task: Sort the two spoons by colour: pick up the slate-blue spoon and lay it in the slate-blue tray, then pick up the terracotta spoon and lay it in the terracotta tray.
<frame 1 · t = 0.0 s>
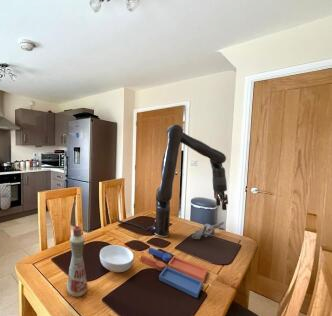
hand: (221, 207, 127), 22 cm above the table, tool pointing down, fingers open, 8 cm apart
terracotta spoon: (152, 264, 101), on the table
terracotta tray: (187, 269, 98), on the table
spaceship: (208, 235, 136), on the table
cereal bowl: (116, 267, 99), on the table
blue tray: (179, 282, 89), on the table
bottle: (76, 290, 83), on the table
blue spoon: (159, 256, 109), on the table
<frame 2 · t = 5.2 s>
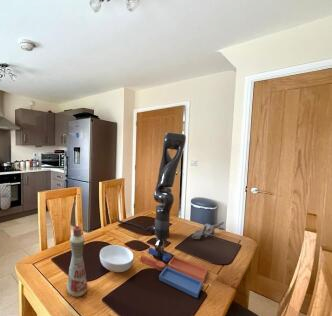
hand: (160, 256, 109), 0 cm above the table, tool pointing down, fingers closed on blue spoon, 2 cm apart
blue spoon: (159, 256, 109), on the table, touching gripper
everything else where it was.
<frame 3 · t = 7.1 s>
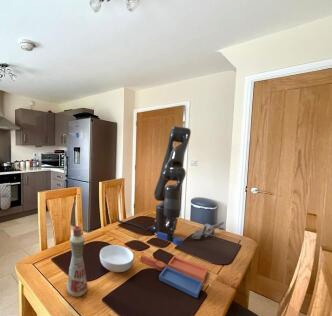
hand: (170, 239, 98), 15 cm above the table, tool pointing down, fingers closed on blue spoon
blue spoon: (169, 240, 99), point 14 cm above the table, touching gripper
everything else where it was.
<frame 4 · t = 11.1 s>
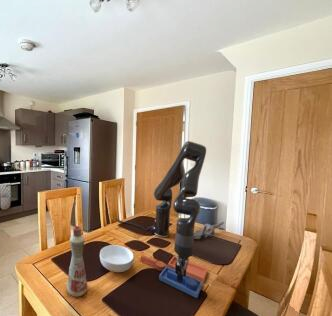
hand: (181, 278, 88), 2 cm above the table, tool pointing down, fingers open, 4 cm apart
blue spoon: (180, 282, 88), resting on blue tray
everything else where it was.
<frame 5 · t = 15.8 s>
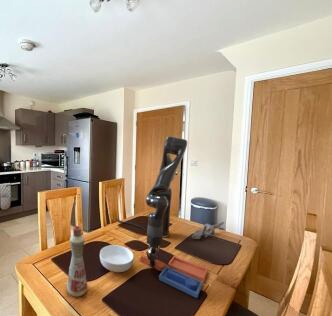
hand: (152, 265, 101), 0 cm above the table, tool pointing down, fingers closed on terracotta spoon
terracotta spoon: (152, 264, 101), on the table, touching gripper
everything else where it was.
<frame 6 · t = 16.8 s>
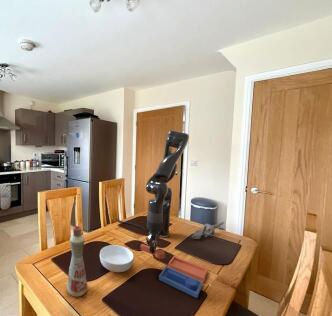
hand: (152, 251, 101), 7 cm above the table, tool pointing down, fingers closed on terracotta spoon
terracotta spoon: (151, 253, 101), point 6 cm above the table, touching gripper
everything else where it was.
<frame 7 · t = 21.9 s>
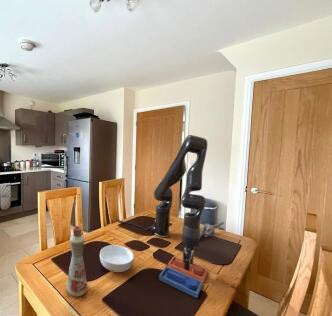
hand: (188, 266, 97), 2 cm above the table, tool pointing down, fingers open, 6 cm apart
terracotta spoon: (187, 269, 98), resting on terracotta tray
everything else where it was.
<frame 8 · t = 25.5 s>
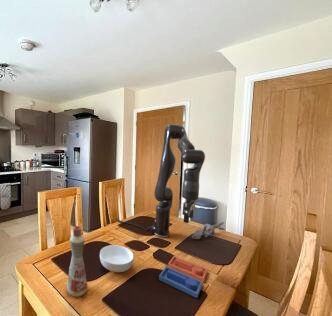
hand: (188, 220, 100), 24 cm above the table, tool pointing down, fingers open, 8 cm apart
nothing on the table moved.
at the end: blue spoon inside the target area in the blue tray (0.3 cm from its centre), point 0.5 cm above the blue tray's base; terracotta spoon inside the target area in the terracotta tray (0.2 cm from its centre), point 0.5 cm above the terracotta tray's base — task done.
